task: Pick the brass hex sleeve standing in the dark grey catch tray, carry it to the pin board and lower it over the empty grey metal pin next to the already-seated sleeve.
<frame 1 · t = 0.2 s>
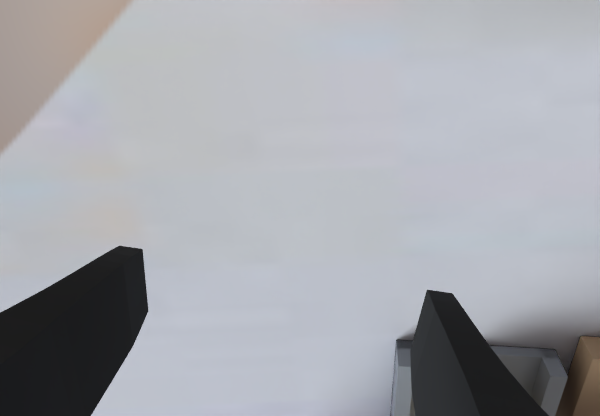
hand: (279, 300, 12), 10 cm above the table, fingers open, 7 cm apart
catch tray: (465, 390, 26), on the table
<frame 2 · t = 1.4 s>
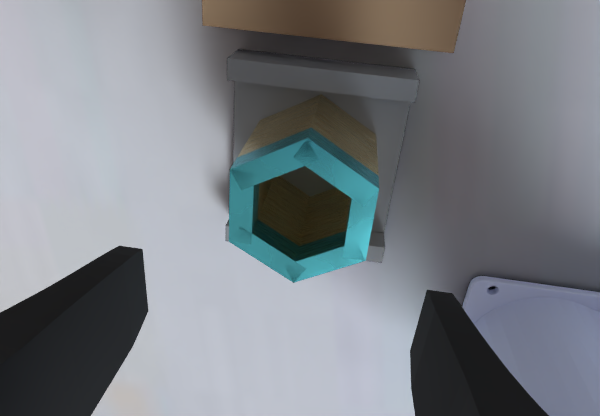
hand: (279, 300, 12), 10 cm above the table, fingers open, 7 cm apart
catch tray: (315, 153, 21), on the table
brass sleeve: (314, 158, 20), point 1 cm above the table, touching catch tray
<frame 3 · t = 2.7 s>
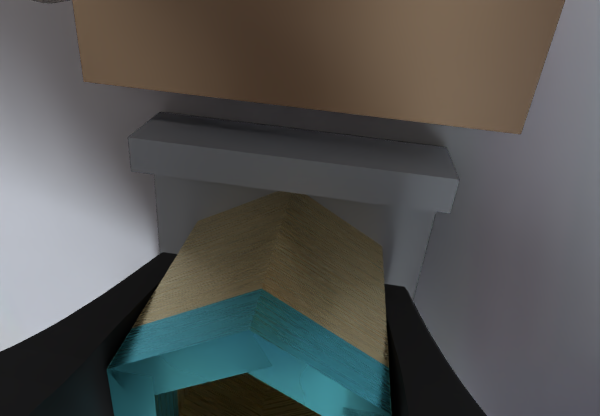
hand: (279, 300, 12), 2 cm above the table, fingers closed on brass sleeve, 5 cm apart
catch tray: (288, 263, 13), on the table
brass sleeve: (285, 276, 13), point 1 cm above the table, touching catch tray, gripper
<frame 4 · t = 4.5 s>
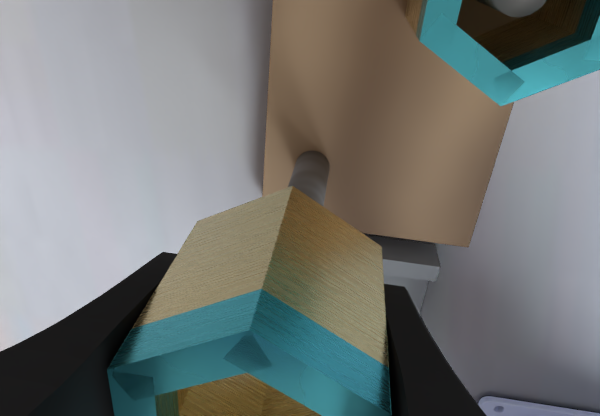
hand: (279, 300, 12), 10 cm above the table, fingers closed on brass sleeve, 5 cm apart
pin board: (388, 73, 19), on the table
catch tray: (348, 299, 24), on the table
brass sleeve: (284, 276, 13), point 9 cm above the table, touching gripper
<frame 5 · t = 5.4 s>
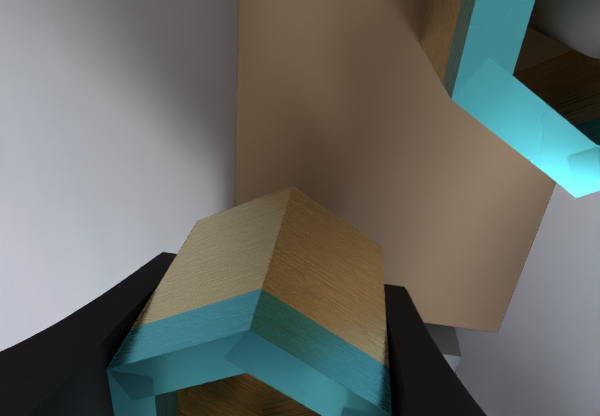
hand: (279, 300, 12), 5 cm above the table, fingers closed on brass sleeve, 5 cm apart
pin board: (395, 114, 14), on the table
catch tray: (345, 380, 20), on the table
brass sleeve: (284, 276, 13), point 4 cm above the table, touching gripper
when the fingers open (3 cm above the table, at t = 6.2 s): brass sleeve stays where it is, resting on pin board.
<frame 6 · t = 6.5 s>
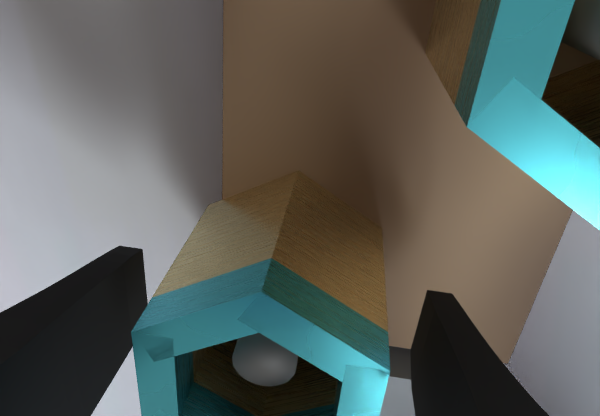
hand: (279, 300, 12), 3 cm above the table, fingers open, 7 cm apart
pin board: (397, 128, 13), on the table
catch tray: (343, 406, 19), on the table
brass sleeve: (290, 257, 14), point 1 cm above the table, touching pin board
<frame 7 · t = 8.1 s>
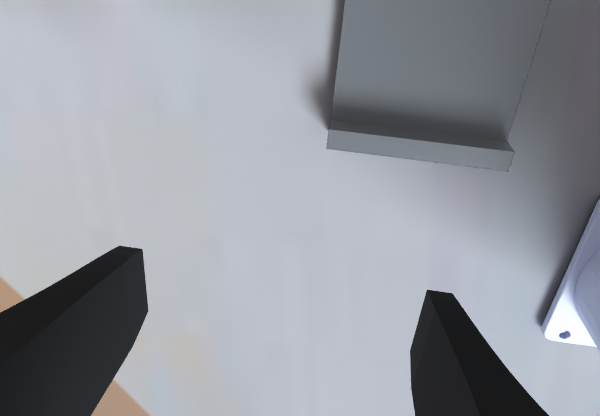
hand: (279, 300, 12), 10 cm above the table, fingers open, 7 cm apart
catch tray: (433, 44, 18), on the table
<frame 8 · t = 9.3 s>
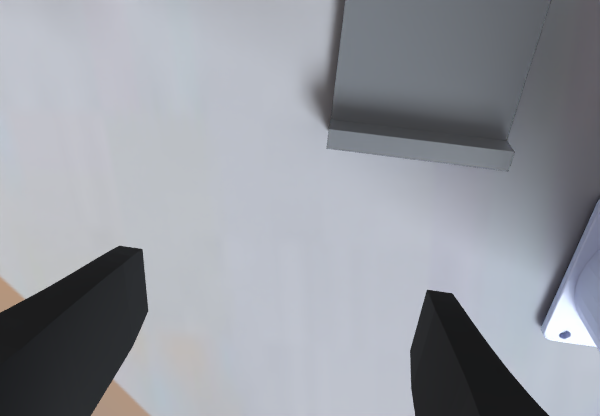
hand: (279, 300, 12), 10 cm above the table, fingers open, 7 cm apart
catch tray: (433, 44, 18), on the table
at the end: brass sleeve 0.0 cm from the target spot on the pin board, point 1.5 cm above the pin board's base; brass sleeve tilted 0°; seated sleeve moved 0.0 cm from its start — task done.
